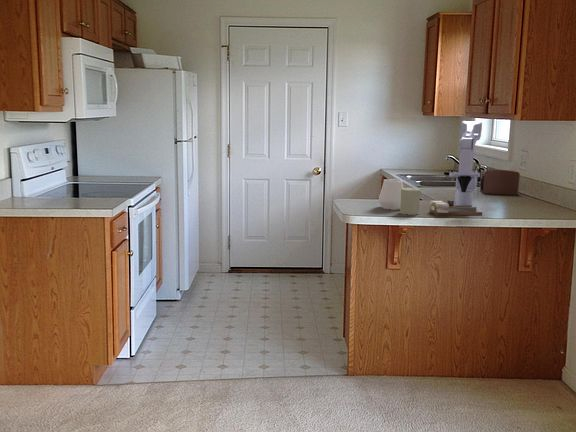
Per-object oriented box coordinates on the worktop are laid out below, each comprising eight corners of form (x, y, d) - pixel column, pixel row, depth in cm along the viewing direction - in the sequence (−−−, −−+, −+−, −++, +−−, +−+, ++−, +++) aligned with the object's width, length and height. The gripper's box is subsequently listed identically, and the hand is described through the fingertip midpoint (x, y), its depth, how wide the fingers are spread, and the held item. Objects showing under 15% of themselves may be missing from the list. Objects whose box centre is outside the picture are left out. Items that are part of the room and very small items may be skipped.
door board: (429, 212, 310) (430, 200, 309) (472, 211, 314) (473, 200, 313) (438, 215, 301) (438, 204, 300) (482, 215, 304) (483, 203, 303)
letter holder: (518, 195, 371) (520, 170, 369) (482, 193, 374) (484, 169, 371) (514, 192, 381) (516, 168, 378) (479, 191, 384) (481, 167, 381)
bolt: (431, 209, 307) (432, 200, 306) (451, 209, 308) (452, 200, 307) (434, 210, 304) (434, 201, 303) (454, 210, 305) (454, 201, 304)
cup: (402, 211, 311) (404, 182, 308) (375, 209, 315) (376, 180, 313) (407, 207, 323) (409, 179, 321) (381, 204, 328) (382, 177, 325)
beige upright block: (406, 215, 301) (408, 189, 298) (395, 211, 309) (397, 187, 307) (423, 214, 304) (424, 189, 302) (412, 210, 312) (413, 186, 310)
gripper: (454, 164, 299) (452, 193, 301) (483, 164, 301) (481, 193, 304) (448, 162, 305) (446, 191, 308) (476, 162, 308) (474, 190, 310)
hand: (463, 192), depth 306 cm, fingers closed
